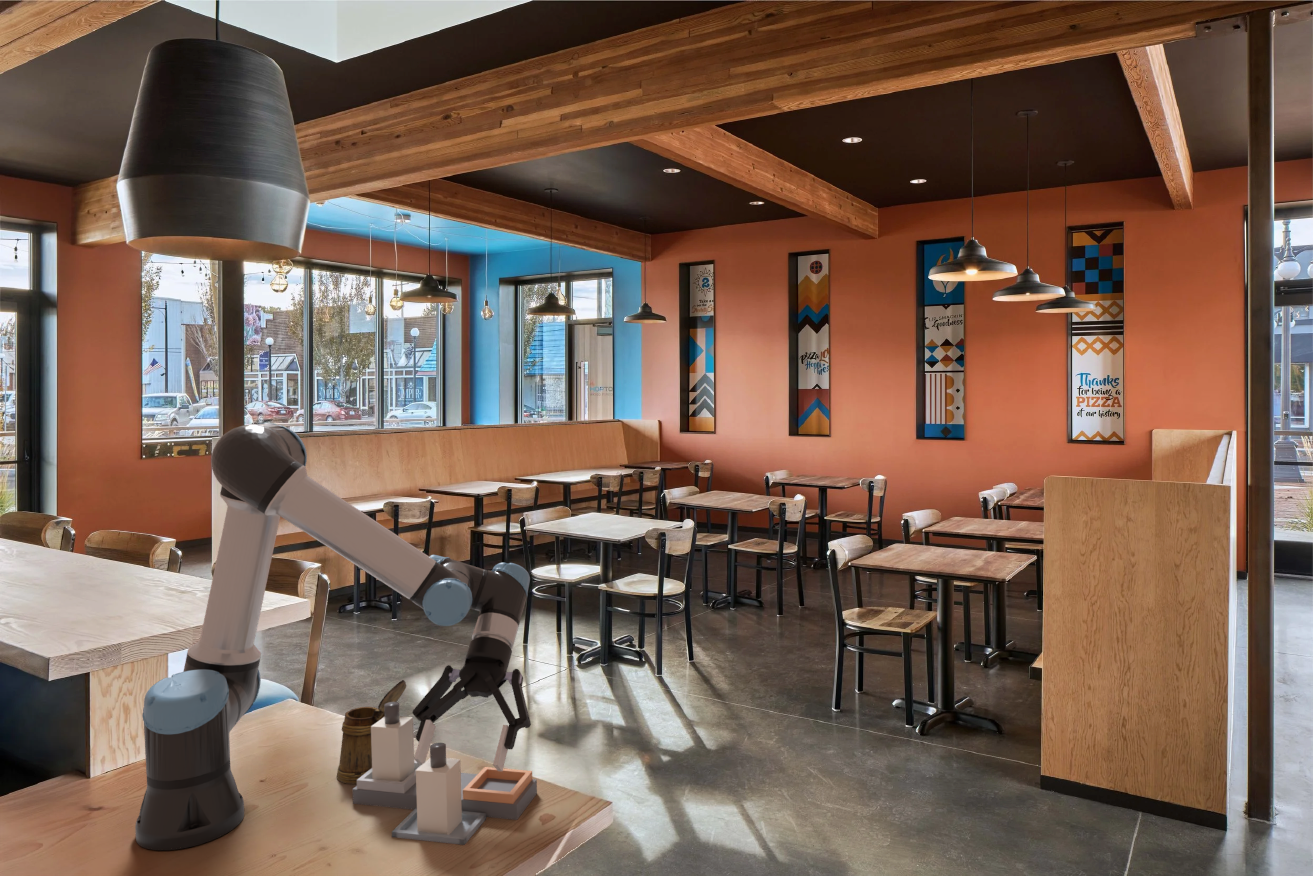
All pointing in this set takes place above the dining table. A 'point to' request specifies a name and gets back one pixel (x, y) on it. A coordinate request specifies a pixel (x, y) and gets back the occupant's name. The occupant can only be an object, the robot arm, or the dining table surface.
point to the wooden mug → (361, 737)
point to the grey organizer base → (479, 792)
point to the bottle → (439, 792)
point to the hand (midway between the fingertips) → (457, 765)
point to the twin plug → (392, 745)
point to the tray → (458, 836)
